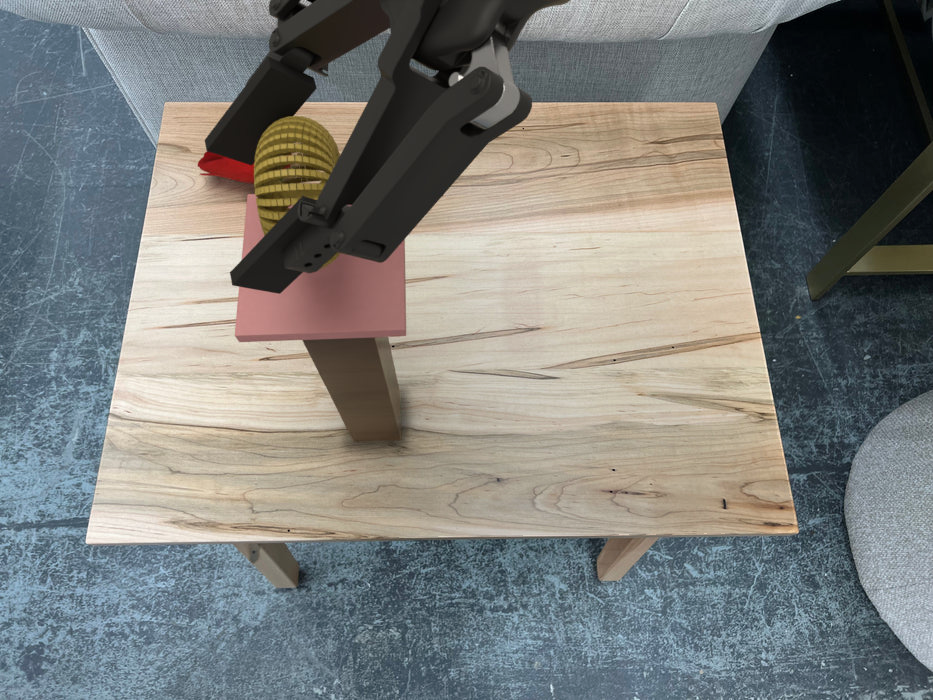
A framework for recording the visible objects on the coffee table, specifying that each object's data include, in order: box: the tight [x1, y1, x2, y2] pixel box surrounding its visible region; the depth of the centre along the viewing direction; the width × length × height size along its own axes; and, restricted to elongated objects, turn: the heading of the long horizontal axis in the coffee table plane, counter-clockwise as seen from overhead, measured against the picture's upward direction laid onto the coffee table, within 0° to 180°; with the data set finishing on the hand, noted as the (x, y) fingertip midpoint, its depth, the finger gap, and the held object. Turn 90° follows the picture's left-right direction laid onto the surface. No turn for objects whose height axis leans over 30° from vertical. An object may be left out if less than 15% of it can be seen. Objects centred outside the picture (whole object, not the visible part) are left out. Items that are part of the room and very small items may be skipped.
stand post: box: [301, 337, 402, 443], centre depth 58 cm, size 5×5×32 cm
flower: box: [197, 150, 293, 184], centre depth 80 cm, size 9×10×30 cm
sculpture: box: [253, 115, 341, 269], centre depth 36 cm, size 8×4×8 cm, turn 5°
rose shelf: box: [234, 193, 407, 343], centre depth 43 cm, size 10×10×1 cm
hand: (241, 215), depth 36 cm, fingers closed on sculpture, 8 cm apart
